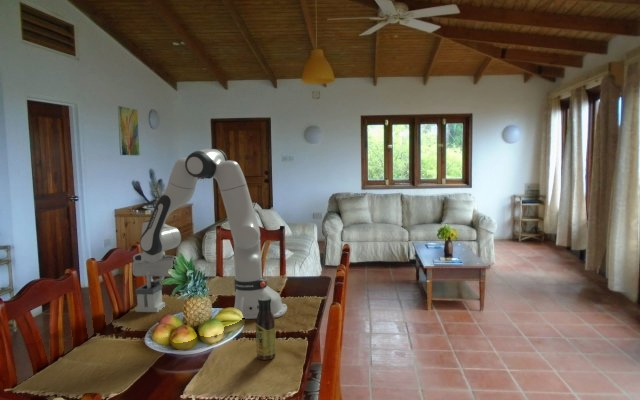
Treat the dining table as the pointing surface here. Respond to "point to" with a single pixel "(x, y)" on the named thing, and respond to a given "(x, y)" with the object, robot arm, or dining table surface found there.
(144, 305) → the grey post holder
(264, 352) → the sauce bottle
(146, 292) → the dark grey flat block
